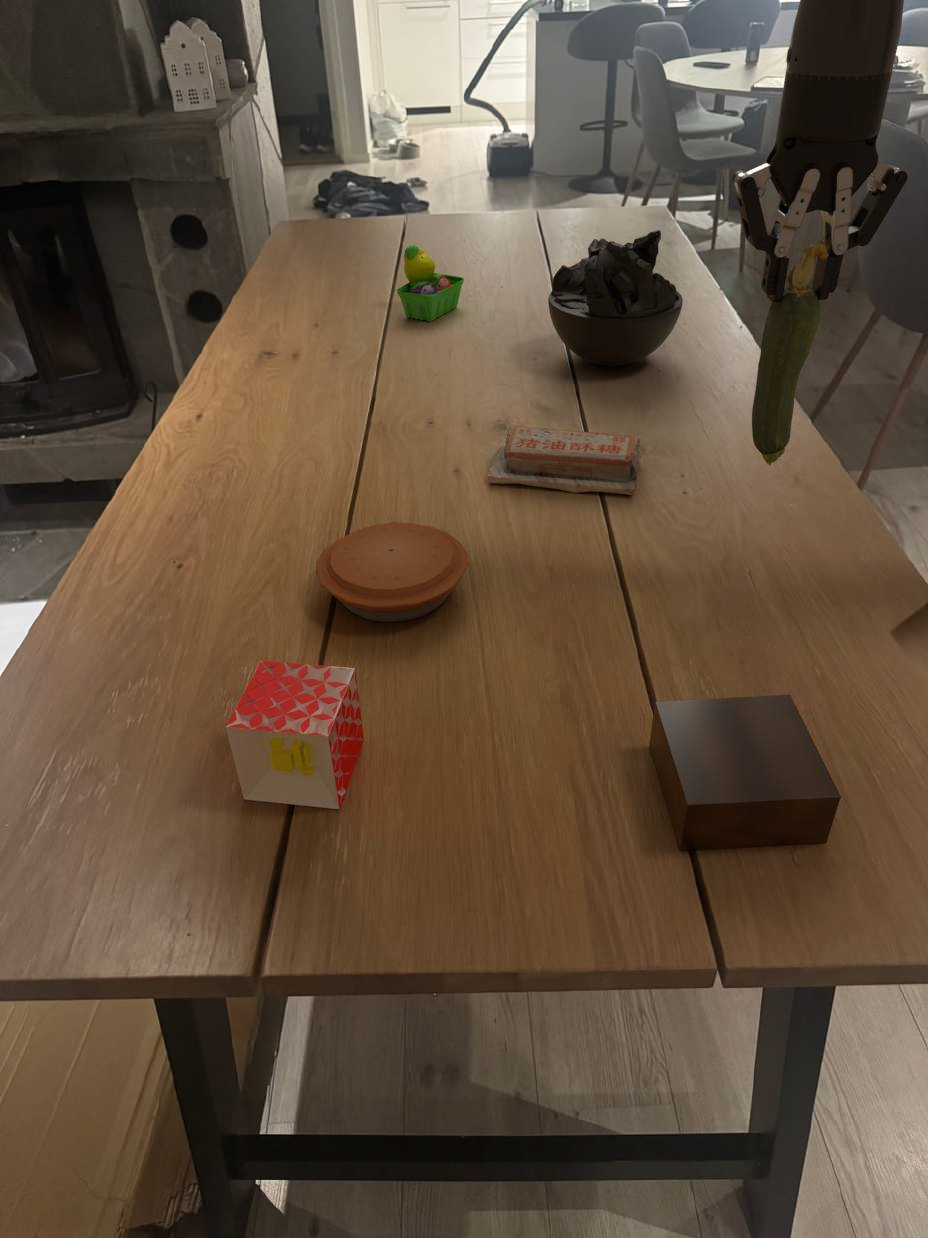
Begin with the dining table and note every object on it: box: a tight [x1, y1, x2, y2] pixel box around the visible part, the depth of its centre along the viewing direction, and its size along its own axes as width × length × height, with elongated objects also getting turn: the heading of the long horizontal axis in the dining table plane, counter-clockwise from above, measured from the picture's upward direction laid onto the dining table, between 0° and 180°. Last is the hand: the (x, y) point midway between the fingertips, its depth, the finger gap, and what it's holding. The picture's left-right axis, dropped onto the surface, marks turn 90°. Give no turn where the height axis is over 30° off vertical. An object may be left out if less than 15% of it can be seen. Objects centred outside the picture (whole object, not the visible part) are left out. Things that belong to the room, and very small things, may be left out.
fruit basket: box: [396, 244, 465, 323], centre depth 163 cm, size 11×9×11 cm
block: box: [648, 694, 842, 852], centre depth 71 cm, size 11×11×5 cm
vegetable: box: [751, 240, 828, 466], centre depth 82 cm, size 4×4×20 cm
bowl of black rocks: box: [547, 229, 683, 367], centre depth 140 cm, size 20×20×19 cm
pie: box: [315, 521, 470, 623], centre depth 95 cm, size 15×16×5 cm
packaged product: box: [487, 425, 642, 496], centre depth 115 cm, size 18×5×10 cm
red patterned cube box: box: [225, 660, 365, 810], centre depth 74 cm, size 8×8×8 cm
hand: (796, 297), depth 79 cm, fingers closed on vegetable, 3 cm apart
